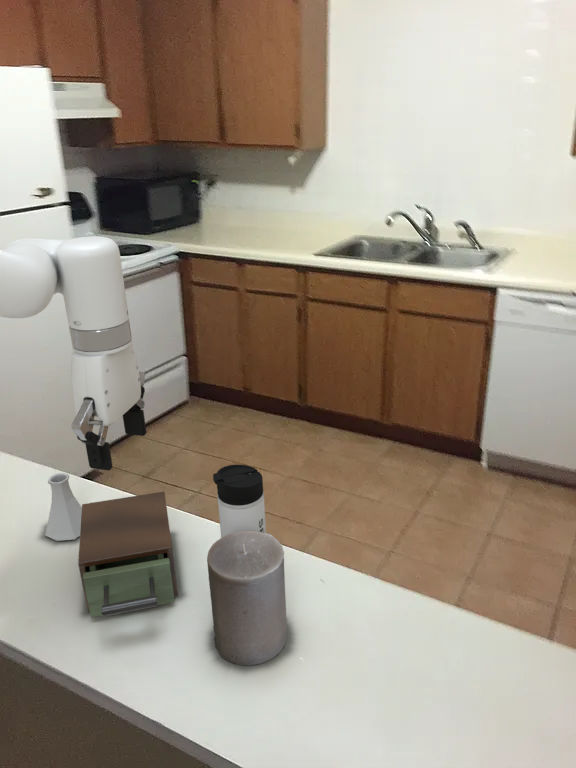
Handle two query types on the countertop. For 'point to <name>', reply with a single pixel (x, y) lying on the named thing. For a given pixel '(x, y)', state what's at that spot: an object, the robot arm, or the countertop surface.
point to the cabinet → (125, 532)
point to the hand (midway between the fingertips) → (119, 450)
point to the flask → (63, 510)
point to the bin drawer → (128, 585)
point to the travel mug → (240, 499)
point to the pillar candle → (248, 597)
